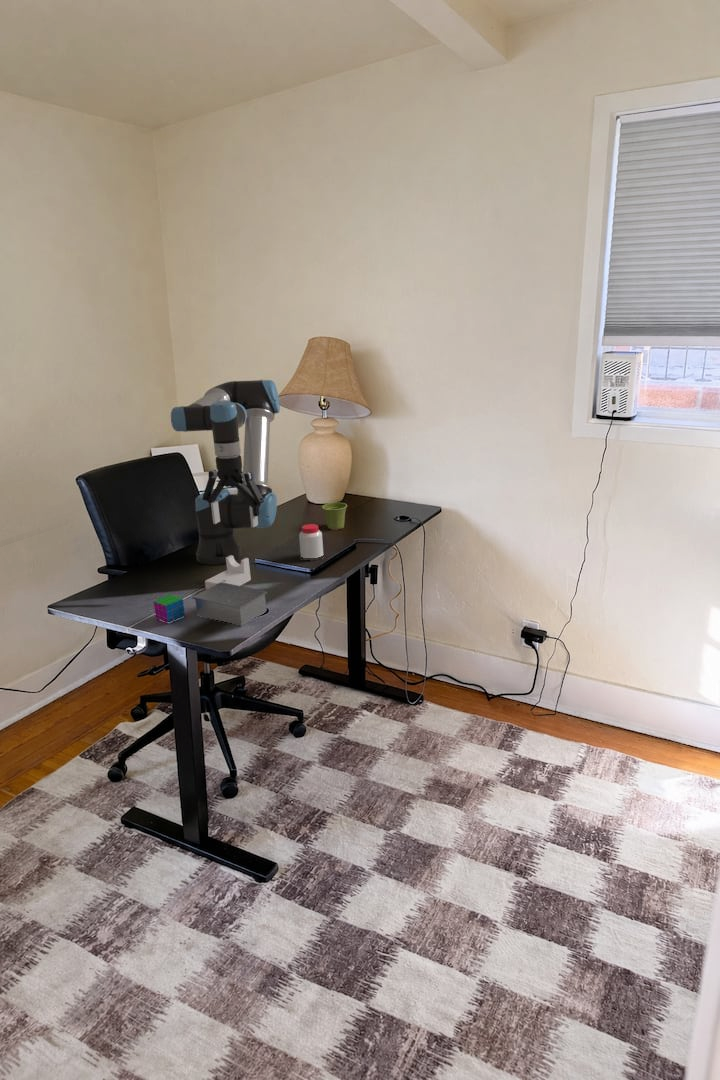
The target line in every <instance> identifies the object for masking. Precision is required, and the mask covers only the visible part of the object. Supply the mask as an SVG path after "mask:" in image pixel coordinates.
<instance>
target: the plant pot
mask: <svg viewBox="0 0 720 1080" xmlns="http://www.w3.org/2000/svg"><path fill="white" fill-rule="evenodd" d="M347 507H348V504H346V503H344V502H329V503H326V504H323V505H322V506H321V508H322V509H323V512H324V516H325V520H326V524H327V525H326V526H327V528H328V529H329V530H331V531H338V530H341V529H344V527H345V520H346V519H345V518H346V517H345V516H346V510H347Z"/></svg>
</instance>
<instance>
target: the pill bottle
mask: <svg viewBox="0 0 720 1080" xmlns="http://www.w3.org/2000/svg"><path fill="white" fill-rule="evenodd" d="M298 538H299V552H300V558H301V557H303V558H318V557H321V556H323V555H324V544H323V543H324V542H323V532H322V531H321V530H320V529H319V525H317V524H316V523H308V524H304V525H302V526H301V532H299V534H298Z"/></svg>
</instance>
